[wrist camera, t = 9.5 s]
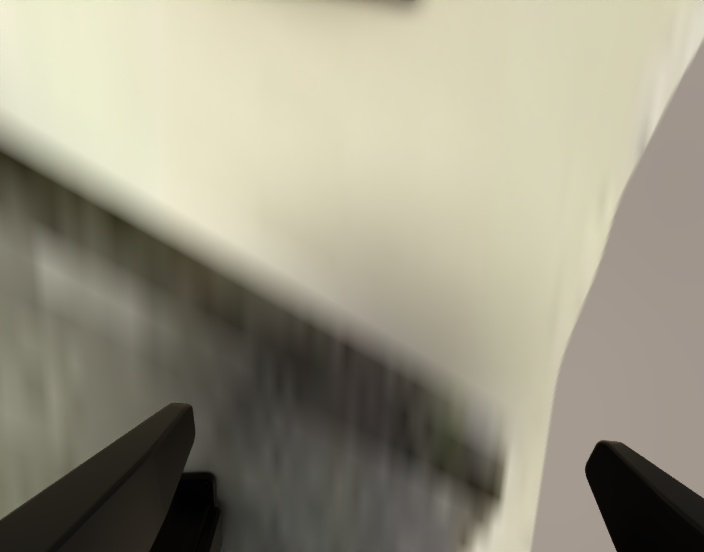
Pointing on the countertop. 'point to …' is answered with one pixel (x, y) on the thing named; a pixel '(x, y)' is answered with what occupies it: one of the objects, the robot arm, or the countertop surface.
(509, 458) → the countertop surface
